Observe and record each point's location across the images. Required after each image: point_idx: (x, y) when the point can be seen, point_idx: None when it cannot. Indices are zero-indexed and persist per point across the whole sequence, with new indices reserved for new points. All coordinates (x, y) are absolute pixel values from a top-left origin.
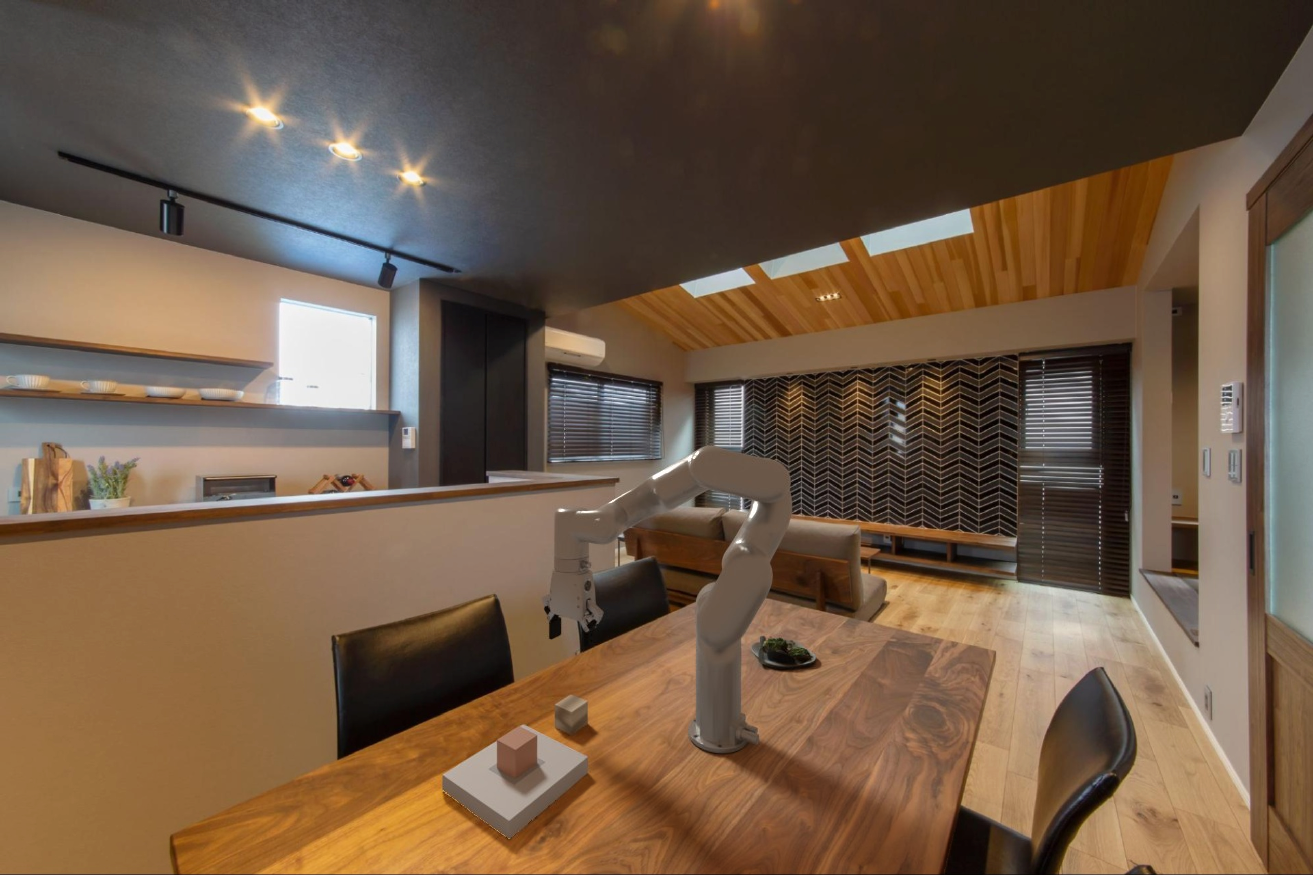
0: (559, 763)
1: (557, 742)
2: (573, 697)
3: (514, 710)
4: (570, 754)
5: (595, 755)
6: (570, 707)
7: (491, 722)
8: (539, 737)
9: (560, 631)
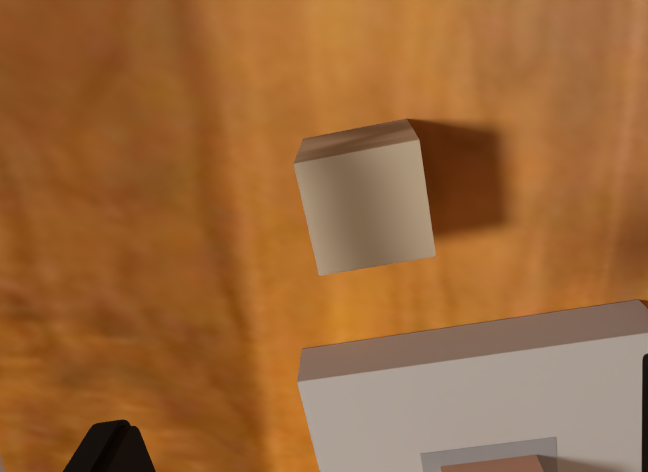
0: (604, 411)
1: (503, 357)
2: (330, 172)
3: (101, 283)
4: (601, 362)
5: (594, 226)
6: (397, 236)
7: (128, 375)
8: (420, 382)
9: (122, 465)
